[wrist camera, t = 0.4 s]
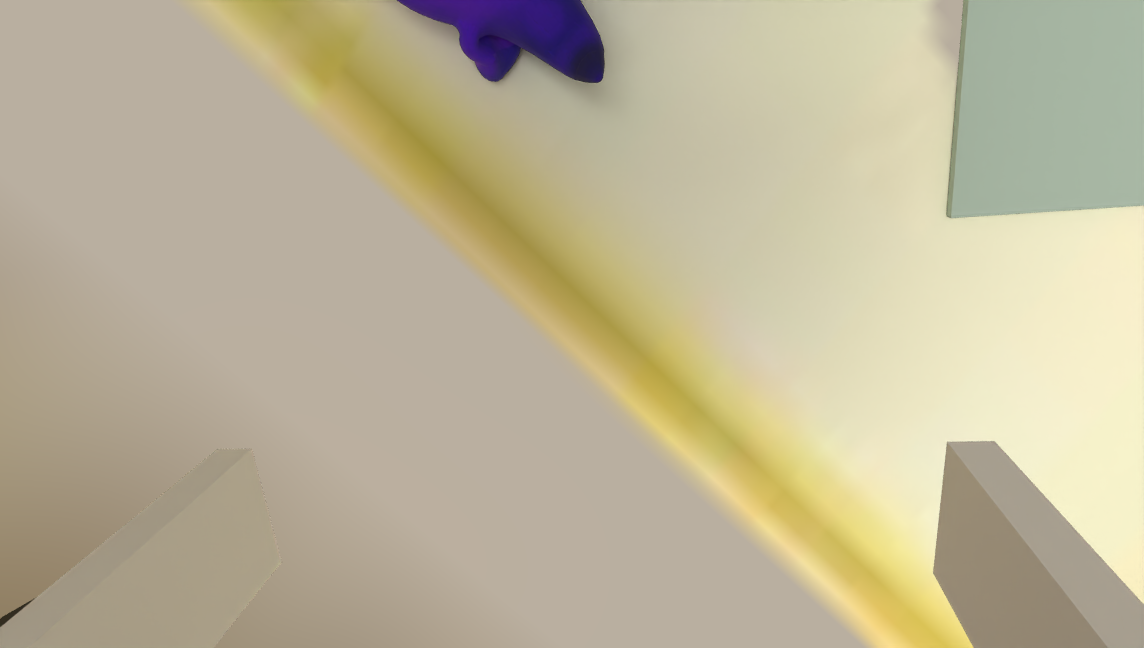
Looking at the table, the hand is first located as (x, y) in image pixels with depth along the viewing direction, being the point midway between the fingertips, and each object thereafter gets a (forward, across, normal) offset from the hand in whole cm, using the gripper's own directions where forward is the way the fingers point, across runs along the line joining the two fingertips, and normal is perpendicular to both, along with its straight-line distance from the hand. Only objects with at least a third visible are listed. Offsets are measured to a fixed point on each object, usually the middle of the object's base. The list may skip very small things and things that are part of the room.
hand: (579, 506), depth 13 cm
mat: (+27, +22, +6) cm, 35 cm away
